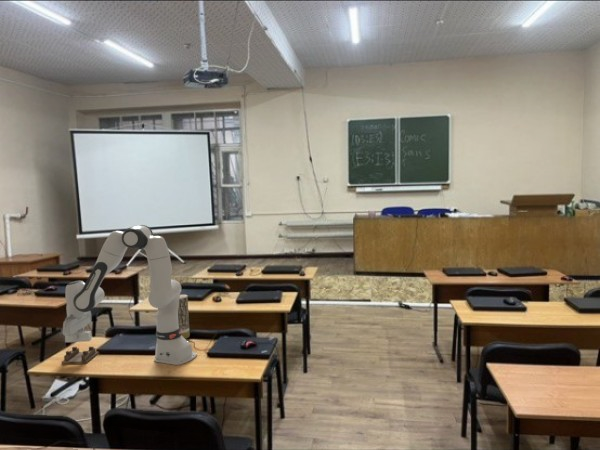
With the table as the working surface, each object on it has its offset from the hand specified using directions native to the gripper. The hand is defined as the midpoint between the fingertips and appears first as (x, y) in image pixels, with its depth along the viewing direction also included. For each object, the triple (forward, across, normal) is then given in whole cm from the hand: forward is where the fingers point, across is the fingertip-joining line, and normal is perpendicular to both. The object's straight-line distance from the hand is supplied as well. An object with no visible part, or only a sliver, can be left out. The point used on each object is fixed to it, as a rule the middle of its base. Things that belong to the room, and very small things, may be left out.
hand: (78, 337), depth 212 cm
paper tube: (+11, +28, -46) cm, 55 cm away
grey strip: (+2, 0, 0) cm, 2 cm away
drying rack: (+12, 0, 0) cm, 12 cm away
